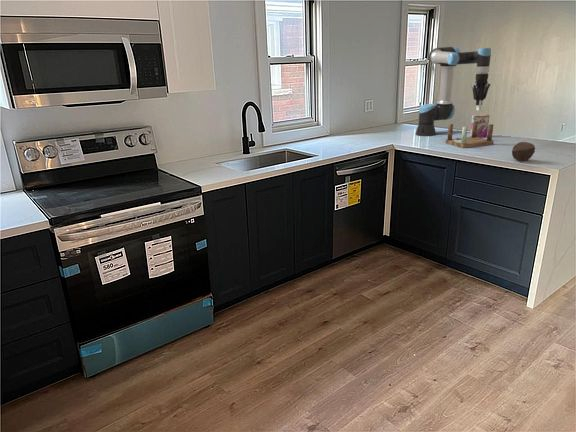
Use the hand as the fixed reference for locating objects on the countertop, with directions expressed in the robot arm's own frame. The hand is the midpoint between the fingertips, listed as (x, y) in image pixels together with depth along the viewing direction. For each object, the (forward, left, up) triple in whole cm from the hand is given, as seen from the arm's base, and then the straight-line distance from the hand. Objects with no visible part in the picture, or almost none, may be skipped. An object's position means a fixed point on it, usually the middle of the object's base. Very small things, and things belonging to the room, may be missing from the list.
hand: (478, 110), depth 281 cm
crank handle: (-2, -11, -21) cm, 24 cm away
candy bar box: (-23, +21, -24) cm, 39 cm away
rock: (+48, -5, -24) cm, 54 cm away
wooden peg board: (-6, -1, -24) cm, 24 cm away
